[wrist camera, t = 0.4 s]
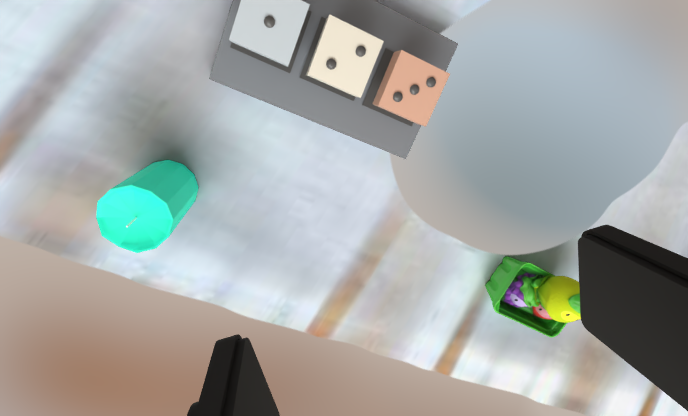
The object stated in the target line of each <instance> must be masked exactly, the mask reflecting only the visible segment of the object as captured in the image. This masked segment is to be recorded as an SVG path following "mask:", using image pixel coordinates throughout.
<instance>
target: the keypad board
mask: <svg viewBox="0 0 688 416" xmlns="http://www.w3.org/2000/svg"><path fill="white" fill-rule="evenodd" d="M302 1H304V2H306V3H308V4H310V6H309V8H308V11H307V14H306V17H305V20H304V23H303V25H302V28H301V31H300V34H299V37H298V40H297V43H296V45H295V48H294V51H293V54H292V57H291V60H290V63H289V65H288V67H287V66H285V65H282V64H280V63H278V62H276V61H273V60H271V59H269V58H267V57H264V56H262V55H260V54H257V53H255V52H253V51H251V50H248V49H246V48H244V47H242V46H239V45H237V44H235V43H233V42H231V41H230V40H229V38H230V35H231V31H232V28H233V25H234V22H235V18H236V15H237V12H238V8H239V5H240V2H241V0H233V1H232V5H231V8H230V11H229V15H228V18H227V21H226V25H225V28H224V31H223V35H222V38H221V41H220V45H219V48H218V51H217V54H216V58H215V61H214V64H213V68H212V71H211V74H210V78H209V79H210V80H213V81H215V82H218V83H220V84H223V85H225V86H228V87H230V88H232V89H235V90H237V91H240V92H242V93H245V94H247V95H250V96H252V97H254V98H257V99H259V100H262V101H264V102H267V103H269V104H272V105H274V106H277V107H279V108H281V109H284V110H286V111H289V112H291V113H294V114H296V115H299V116H301V117H304V118H306V119H308V120H311V121H313V122H316V123H318V124H321V125H323V126H326V127H328V128H331V129H333V130H335V131H338V132H340V133H343V134H345V135H348V136H350V137H353V138H355V139H357V140H360V141H362V142H365V143H367V144H370V145H372V146H375V147H377V148H380V149H382V150H384V151H387V152H389V153H392V154H394V155H397V156H399V157H402V158H404V159H406V157H407V155H408V153H409V151H410V149H411V146H412V144H413V142H414V140H415V138H416V135H417V133H418V131H419V129H420V127H421V125H419V124H416V123H414V122H412V121H410V120H407V119H405V118H403V117H400V116H398V115H396V114H394V113H391V112H389V111H387V110H385V109H382V108H380V107H378V106H375V105H373V101H374V99H375V96H376V94H377V92H378V89H379V87H380V84H381V82H382V80H383V77H384V75H385V72H386V70H387V68H388V65H389V63H390V60H391V58H392V56H393V53H394V52H396V51H399V50H403V51H405V52H407V53H409V54H411V55H413V56H415V57H417V58H419V59H421V60H423V61H425V62H427V63H429V64H431V65H433V66H435V67H437V68H439V69H441V70H443V71H445V72H446V70H447V67H448V65H449V63H450V61H451V58H452V56H453V54H454V52H455V50H456V48H457V45H458V44H457V43H456V42H454V41H452V40H450V39H448V38H446V37H444V36H442V35H440V34H439V33H437V32H435V31H433V30H431V29H429V28H427V27H425V26H423V25H421V24H419V23H418V22H416V21H414V20H412V19H410V18H408V17H406V16H404V15H402V14H400V13H398V12H397V11H395V10H393V9H391V8H389V7H387V6H385V5H383V4H381V3H379V2H377V1H376V0H302ZM329 15H332V16H334V17H336V18H338V19H340V20H342V21H344V22H346V23H348V24H350V25H352V26H354V27H356V28H358V29H360V30H362V31H364V32H366V33H368V34H370V35H372V36H374V37H376V38H378V39H381V40H383V41H384V42H383V45H382V47H381V49H380V52H379V54H378V57H377V59H376V62H375V64H374V67H373V69H372V72H371V74H370V76H369V79H368V81H367V84H366V86H365V89H364V91H363V94H362V96H361V98H359V97H355V96H353V95H351V94H348V93H346V92H344V91H341V90H339V89H337V88H335V87H332V86H330V85H328V84H326V83H323V82H321V81H319V80H316V79H314V78H312V77H310V76H307V75H306V74H307V71H308V68H309V66H310V63H311V60H312V57H313V55H314V52H315V49H316V46H317V44H318V41H319V38H320V35H321V33H322V30H323V27H324V24H325V22H326V19H327V18H328V16H329Z"/></svg>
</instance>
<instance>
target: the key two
mask: <svg viewBox="0 0 688 416" xmlns="http://www.w3.org/2000/svg"><path fill="white" fill-rule="evenodd" d="M383 42H384V41H383V40H381V39H378V38H376V37H374V36H372V35H370V34H368V33H366V32H364V31H362V30H360V29H358V28H356V27H354V26H352V25H350V24H348V23H346V22H344V21H342V20H340V19H338V18H336V17H334V16H332V15H329V16H328V18H327V19H326V22H325V24H324V27H323V30H322V33H321V35H320V38H319V41H318V44H317V46H316V49H315V52H314V55H313V57H312V60H311V63H310V66H309V68H308V71H307V74H306V75H307V76H310V77H312V78H314V79H316V80H319V81H321V82H323V83H326V84H328V85H330V86H332V87H335V88H337V89H339V90H341V91H344V92H346V93H348V94H351V95H353V96H355V97H359V98H361V96H362V94H363V91H364V89H365V86H366V84H367V81H368V79H369V76H370V74H371V72H372V69H373V67H374V64H375V62H376V59H377V57H378V54H379V52H380V49H381V47H382V45H383Z"/></svg>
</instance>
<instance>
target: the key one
mask: <svg viewBox="0 0 688 416" xmlns="http://www.w3.org/2000/svg"><path fill="white" fill-rule="evenodd" d="M309 6H310V4H308V3H306V2H304V1H302V0H241V2H240V5H239V8H238V12H237V15H236V18H235V22H234V25H233V28H232V31H231V35H230V38H229V40H230V41H231V42H233V43H235V44H237V45H239V46H242V47H244V48H246V49H248V50H251V51H253V52H255V53H257V54H260V55H262V56H264V57H267V58H269V59H271V60H273V61H276V62H278V63H280V64H282V65H285V66H287V67H288V65H289V63H290V60H291V57H292V54H293V51H294V48H295V45H296V43H297V40H298V37H299V34H300V31H301V28H302V25H303V23H304V20H305V17H306V14H307V11H308V8H309Z"/></svg>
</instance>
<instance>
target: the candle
mask: <svg viewBox="0 0 688 416" xmlns="http://www.w3.org/2000/svg"><path fill="white" fill-rule="evenodd" d="M198 188H199V187H198V184H197V181H196V178H195V175H194V174H193V173H192V172H191V171H190V170H189V169H188V168H187V167H186V166H185V165H184V164H181V163H178V162H174V161H171V160H164V161H159V162H154V163H152V164H150V165H149V166H147V167H146V168H144V169H142V170H141V171H139V172H138V173H136V174H134V175H133V176H131V177H130V178H128V179H126V180H125V181H123V182H122V183H120V184H118V185H117V186H115V187H114V188H112V189H110V190H109V191H108V192H107V193H106V194H105V195H104V196H103V197H102V198H101V199H100V200H99V201H98V204H97V216H96V218H97V221H98V224H99V228H100V231H101V234H102V236H103V237H105V238H106V239H108V240H109V241H111V242H112V243H114V244H115V245H117V246H119V247H121V248H124V249H127V250H130V251H133V252H136V253H139V252H143V251H147V250H151V249H155V248H157V247H158V246H159V245H160V244H161V243H162V242H163V241H165V240H166V239H167V238H168V237H169V236H170V234H171V233H172V232H173V230H174V229H175V228H176V226H177V225H178V223H179V222H180V221H181V219H182V218H183V217H184V215H185V214H186V213H187V211H188V210H189V209H190V207H191V206H192V204H193V203H194V202H195V200H196V196H197V192H198Z"/></svg>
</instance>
